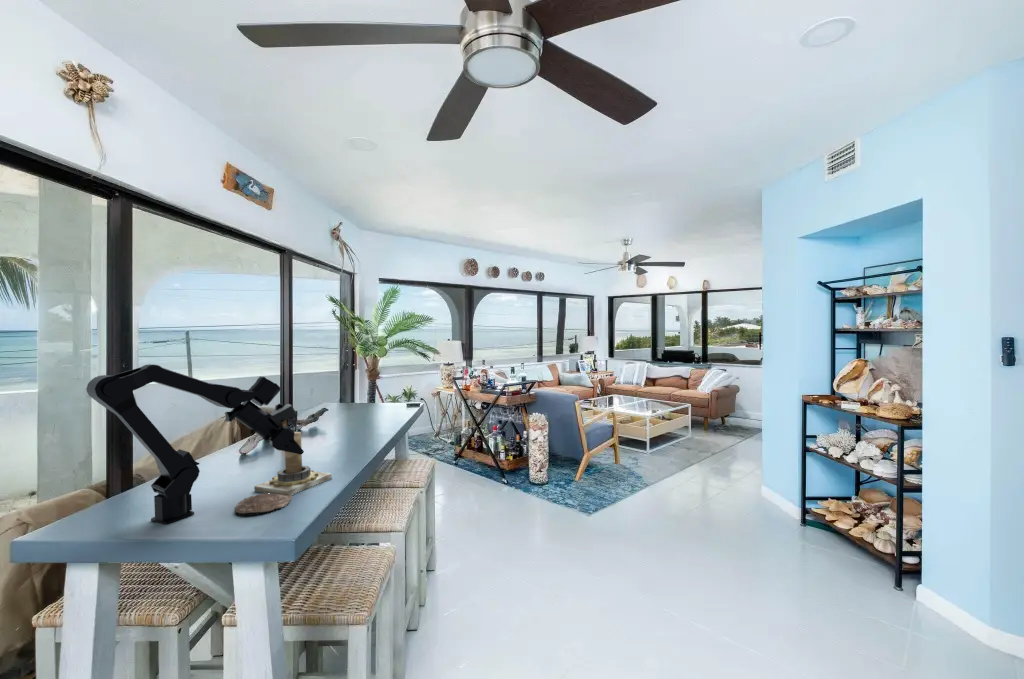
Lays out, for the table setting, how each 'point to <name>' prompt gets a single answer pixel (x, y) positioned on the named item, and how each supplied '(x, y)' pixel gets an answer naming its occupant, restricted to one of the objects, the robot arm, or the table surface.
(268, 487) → the gear board
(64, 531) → the table surface
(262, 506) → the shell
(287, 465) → the oak axle
